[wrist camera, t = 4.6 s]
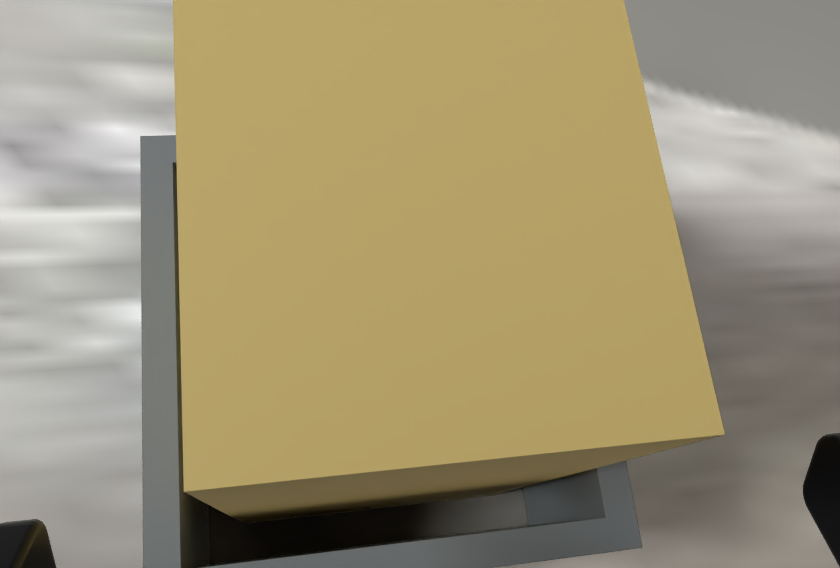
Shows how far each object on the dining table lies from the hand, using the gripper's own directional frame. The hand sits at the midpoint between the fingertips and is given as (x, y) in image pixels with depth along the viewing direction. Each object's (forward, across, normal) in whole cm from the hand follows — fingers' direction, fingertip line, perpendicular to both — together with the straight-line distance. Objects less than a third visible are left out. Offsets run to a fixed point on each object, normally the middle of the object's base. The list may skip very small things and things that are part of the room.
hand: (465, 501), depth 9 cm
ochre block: (+10, 0, +5) cm, 11 cm away
